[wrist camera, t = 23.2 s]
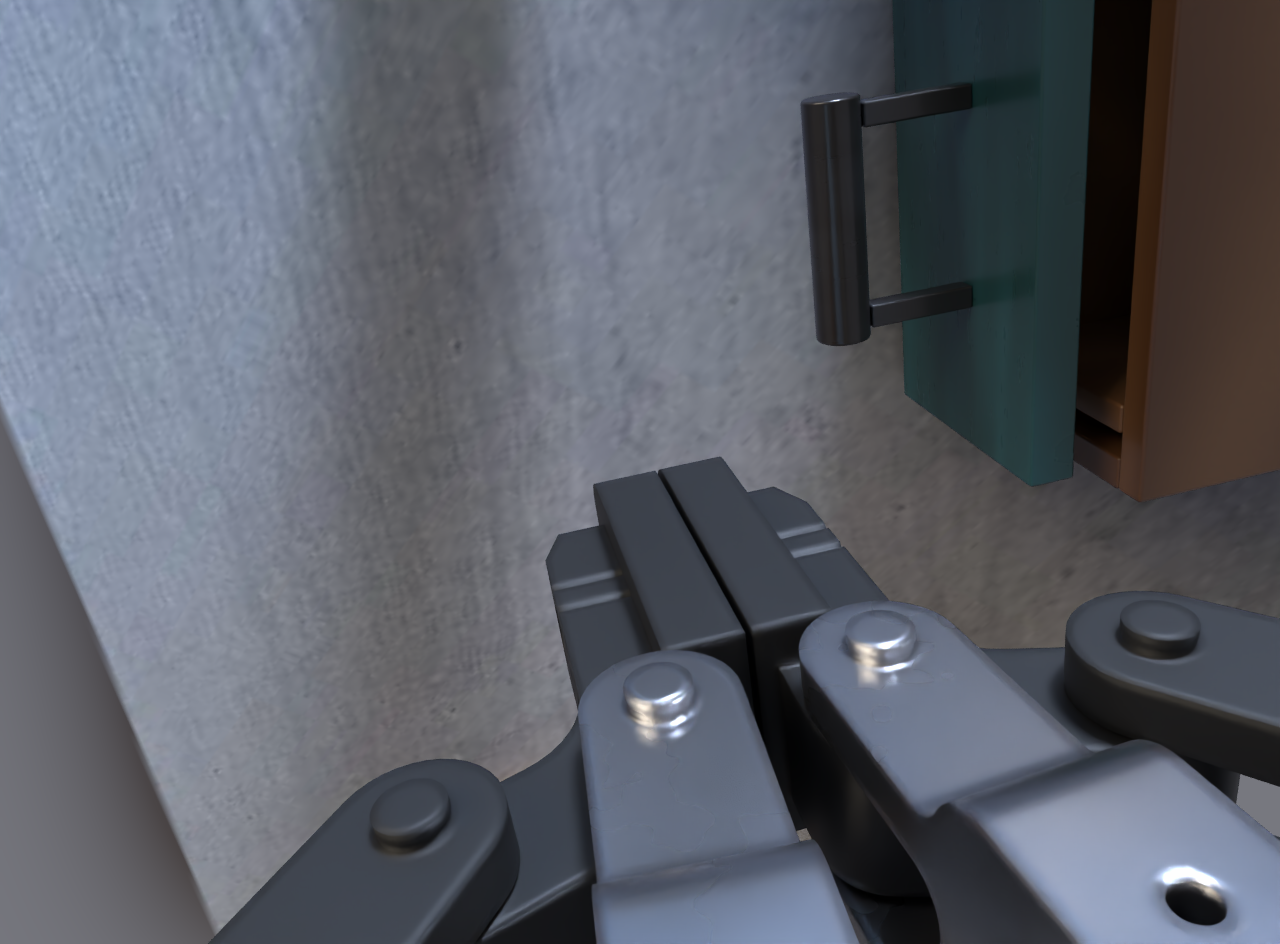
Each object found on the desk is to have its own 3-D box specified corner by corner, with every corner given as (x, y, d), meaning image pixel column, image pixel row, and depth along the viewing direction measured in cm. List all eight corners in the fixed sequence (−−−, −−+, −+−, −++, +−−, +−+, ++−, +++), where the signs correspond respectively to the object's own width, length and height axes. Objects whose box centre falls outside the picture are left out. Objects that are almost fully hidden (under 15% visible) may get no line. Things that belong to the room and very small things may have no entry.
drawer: (778, 421, 32) (874, 523, 25) (735, -63, 26) (845, -97, 19) (1334, 302, 34) (1556, 367, 28) (1407, -164, 28) (1709, -223, 22)
